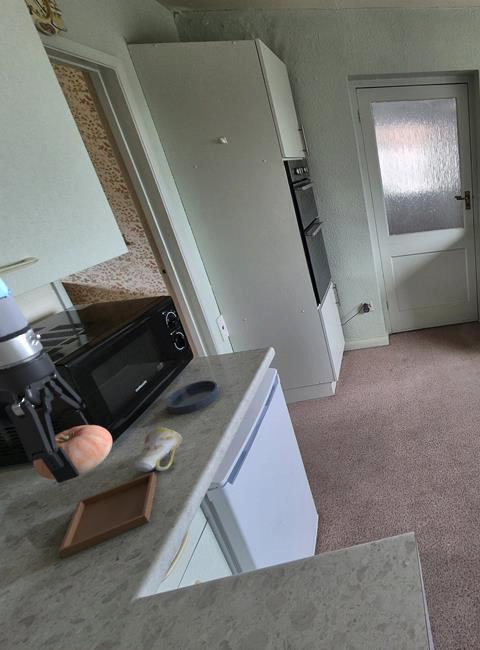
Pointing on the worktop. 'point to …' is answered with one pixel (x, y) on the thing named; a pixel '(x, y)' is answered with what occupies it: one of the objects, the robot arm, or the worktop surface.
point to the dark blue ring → (193, 397)
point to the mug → (158, 449)
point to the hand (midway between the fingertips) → (78, 458)
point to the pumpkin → (80, 448)
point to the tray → (109, 514)
